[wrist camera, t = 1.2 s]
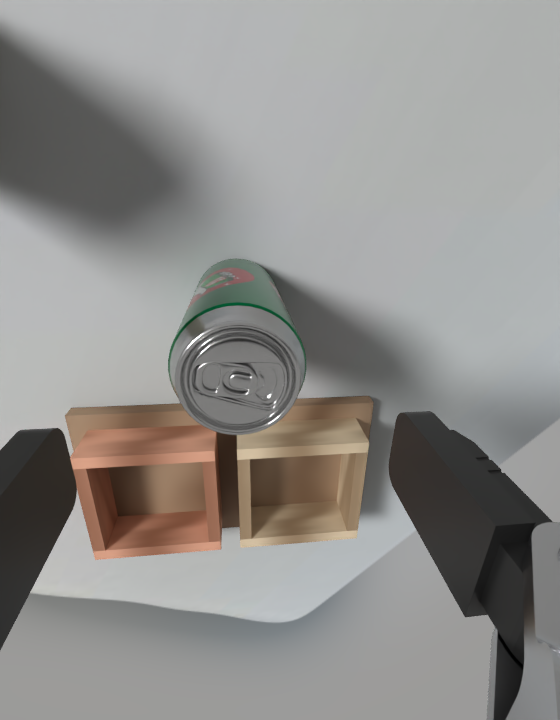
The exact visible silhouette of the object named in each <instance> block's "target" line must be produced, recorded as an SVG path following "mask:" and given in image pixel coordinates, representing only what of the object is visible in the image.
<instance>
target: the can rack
mask: <svg viewBox="0 0 560 720" xmlns="http://www.w3.org/2000/svg"><path fill="white" fill-rule="evenodd" d="M372 411H373V401H372V400H371V398H370V397H369V396H355V397H331V398H306V399H296V401H295V403H294V405H293V406H292V408H291V409H290V410H289V412H288V413H287V414H286V415H285V416H284V417H283V418H282V419H281V420H279V421H278V422H277V423H275V424H274V425H272V426H270V427H269V428H267V429H264V430H262V431H259V432H256V433H251V434H245V435H229V434H223V433H219V432H215V431H212V430H210V429H208V428H206V427H204V426H202V425H201V424H199V423H198V422H196V421H195V420H194V419H193V418H192V417H191V416H190V415H189V414H188V413H187V412H186V411H185V409H184V408H183V406H182V404H159V405H135V406H111V407H86V408H71V409H70V410H69V411H68V413H67V414H66V415H65V418H66V422H67V426H68V430H69V434H70V438H71V442H72V446H73V450H74V452H73V454H72V455H71V457H70V460H71V464H72V468H73V471H74V475H75V479H76V486H77V490H78V494H79V498H80V502H81V506H82V510H83V514H84V518H85V521H86V525H87V529H88V533H89V537H90V541H91V545H92V549H93V553H94V556H95V560H99V559H111V558H123V557H135V556H147V555H159V554H171V553H183V552H195V551H208V550H220V549H221V536H222V528H229V527H240V545H241V548H244V547H256V546H268V545H280V544H292V543H304V542H316V541H328V540H341V539H353V538H357V531H358V524H359V516H360V508H361V501H362V493H363V486H364V478H365V471H366V463H367V456H368V448H369V434H370V426H371V419H372Z"/></svg>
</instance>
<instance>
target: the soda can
mask: <svg viewBox="0 0 560 720" xmlns="http://www.w3.org/2000/svg"><path fill="white" fill-rule="evenodd" d="M168 372H169V377H170V381H171V384H172V387H173V390H174V391H175V393H176V395H177V397H178V398H179V401H180V403H181V404H182V406H183V408H184V409H185V411H186V412H187V413H188V414H189V415H190V416H191V417H192V418H193V419H194V420H195V421H196V422H198V423H199V424H201V425H202V426H204V427H206V428H208V429H210V430H212V431H215V432H219V433H223V434H229V435H245V434H251V433H256V432H259V431H262V430H264V429H267V428H269V427H270V426H272V425H274V424H275V423H277V422H278V421H279V420H281V419H282V418H283V417H284V416H285V415H286V414H287V413H288V412H289V410H290V409H291V408H292V406H293V405H294V403H295V401H296V399H297V396H298V394H299V392H300V390H301V388H302V385H303V382H304V379H305V374H306V355H305V350H304V347H303V344H302V341H301V339H300V337H299V335H298V333H297V330H296V328H295V326H294V324H293V322H292V320H291V318H290V315H289V313H288V311H287V309H286V307H285V305H284V303H283V300H282V298H281V296H280V294H279V292H278V290H277V288H276V285H275V283H274V281H273V280H272V278H271V276H270V275H269V274H268V273H267V271H265V270H264V269H263V268H262V267H261V266H259V265H258V264H256V263H254V262H251V261H248V260H245V259H228V260H224V261H221V262H219V263H217V264H215V265H213V266H212V267H211V268H209V269H208V270H207V271H206V272H205V274H204V275H203V276H202V278H201V280H200V281H199V284H198V286H197V288H196V290H195V293H194V295H193V297H192V300H191V302H190V304H189V306H188V309H187V311H186V313H185V316H184V318H183V320H182V323H181V325H180V327H179V329H178V332H177V334H176V336H175V339H174V341H173V344H172V346H171V349H170V354H169V359H168Z"/></svg>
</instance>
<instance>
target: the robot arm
mask: <svg viewBox="0 0 560 720" xmlns="http://www.w3.org/2000/svg"><path fill="white" fill-rule="evenodd" d="M389 475H390V480H391V483H392V486H393V488H394V490H395V492H396V494H397V495H398V497H399V499H400V501H401V503H402V504H403V506H404V508H405V510H406V512H407V513H408V515H409V517H410V519H411V521H412V522H413V524H414V526H415V528H416V530H417V531H418V533H419V535H420V537H421V539H422V540H423V542H424V544H425V546H426V548H427V549H428V551H429V553H430V555H431V557H432V558H433V560H434V562H435V564H436V565H437V567H438V569H439V571H440V573H441V575H442V576H443V578H444V580H445V582H446V583H447V585H448V587H449V589H450V591H451V593H452V594H453V596H454V598H455V600H456V602H457V603H458V605H459V607H460V609H461V611H462V612H463V614H464V616H465V617H471V616H479V615H488V616H489V617H490V619H491V621H492V622H493V624H494V625H495V629H494V631H493V634H492V639H491V657H490V673H489V689H488V705H487V720H560V523H558V522H552V521H551V520H550V519H549V518H548V517H547V516H546V515H545V514H544V513H543V511H542V510H541V509H539V507H537V506H536V504H535V503H534V502H533V501H532V500H531V499H529V497H528V496H527V495H526V494H524V493H523V491H521V489H520V488H519V487H518V486H517V485H516V484H515V483H514V482H513V481H512V480H511V479H510V478H509V477H508V476H507V475H506V474H505V473H502V472H501V469H500V468H499V467H498V466H497V465H496V464H495V463H494V462H493V461H492V460H489V458H488V456H487V455H486V454H485V453H484V452H483V451H482V450H481V449H480V448H479V447H478V446H477V445H476V444H475V443H474V442H473V441H471V440H469V439H468V438H466V437H464V436H463V435H461V434H459V433H458V432H456V431H454V430H449V429H448V428H447V427H446V426H445V425H444V424H443V423H442V422H441V420H440V419H439V418H438V417H437V416H436V415H435V414H434V413H432V412H430V411H426V412H405V413H400V414H399V415H398V416H397V419H396V423H395V429H394V435H393V441H392V447H391V453H390V459H389ZM76 492H77V486H76V479H75V475H74V471H73V468H72V464H71V460H70V456H69V452H68V448H67V444H66V440H65V436H64V434H63V432H62V431H61V430H60V429H58V428H51V429H30V430H20V431H18V432H17V433H16V434H15V435H14V436H13V437H12V438H11V439H10V440H9V442H8V443H7V444H6V445H5V446H4V447H3V448H2V449H1V450H0V650H1V648H2V646H3V643H4V642H5V640H6V638H7V636H8V634H9V632H10V630H11V628H12V626H13V624H14V622H15V621H16V619H17V617H18V615H19V613H20V610H21V609H22V607H23V605H24V603H25V601H26V599H27V597H28V595H29V593H30V591H31V589H32V588H33V586H34V584H35V582H36V580H37V578H38V576H39V574H40V572H41V570H42V568H43V566H44V564H45V562H46V560H47V558H48V556H49V554H50V553H51V551H52V549H53V547H54V545H55V543H56V541H57V539H58V537H59V535H60V533H61V531H62V529H63V527H64V525H65V523H66V521H67V519H68V518H69V516H70V514H71V512H72V510H73V507H74V504H75V500H76Z"/></svg>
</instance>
